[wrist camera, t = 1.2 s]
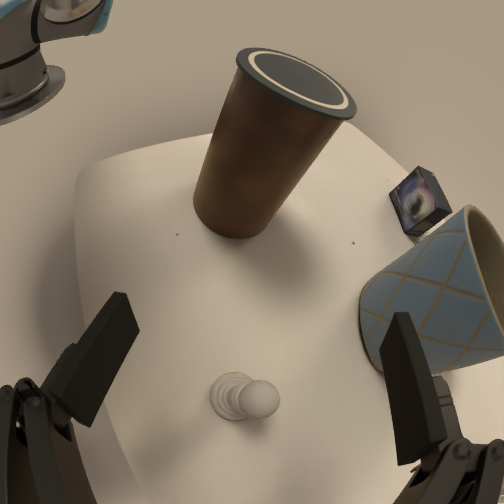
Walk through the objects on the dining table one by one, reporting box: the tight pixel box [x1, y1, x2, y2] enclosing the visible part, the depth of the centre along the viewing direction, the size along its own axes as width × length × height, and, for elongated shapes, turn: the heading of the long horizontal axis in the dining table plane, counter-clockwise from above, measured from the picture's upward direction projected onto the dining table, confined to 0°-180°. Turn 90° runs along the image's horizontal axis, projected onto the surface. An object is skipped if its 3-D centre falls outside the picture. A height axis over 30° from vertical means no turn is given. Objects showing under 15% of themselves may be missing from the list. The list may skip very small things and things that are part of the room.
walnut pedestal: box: [193, 67, 344, 239], centre depth 29 cm, size 11×11×20 cm
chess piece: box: [211, 372, 280, 420], centre depth 22 cm, size 5×5×9 cm
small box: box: [389, 166, 452, 237], centre depth 49 cm, size 11×6×10 cm, turn 6°
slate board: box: [236, 48, 357, 120], centre depth 21 cm, size 12×12×1 cm
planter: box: [360, 205, 504, 374], centre depth 30 cm, size 19×19×20 cm
